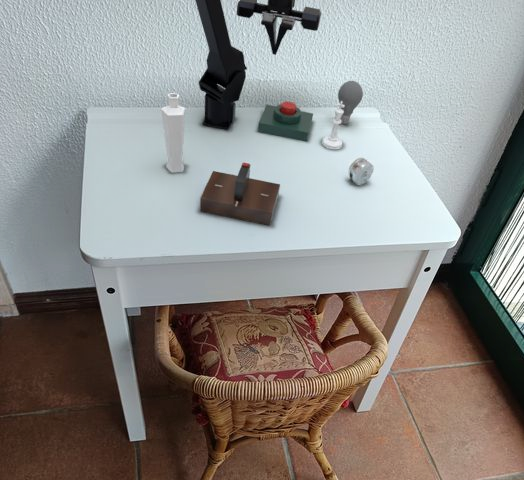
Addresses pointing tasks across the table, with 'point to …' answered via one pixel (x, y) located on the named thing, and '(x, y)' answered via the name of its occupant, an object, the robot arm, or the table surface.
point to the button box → (285, 123)
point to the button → (288, 108)
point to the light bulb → (349, 98)
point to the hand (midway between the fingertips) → (274, 53)
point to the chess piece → (334, 131)
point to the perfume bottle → (174, 133)
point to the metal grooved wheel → (360, 171)
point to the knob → (242, 181)
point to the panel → (250, 208)
